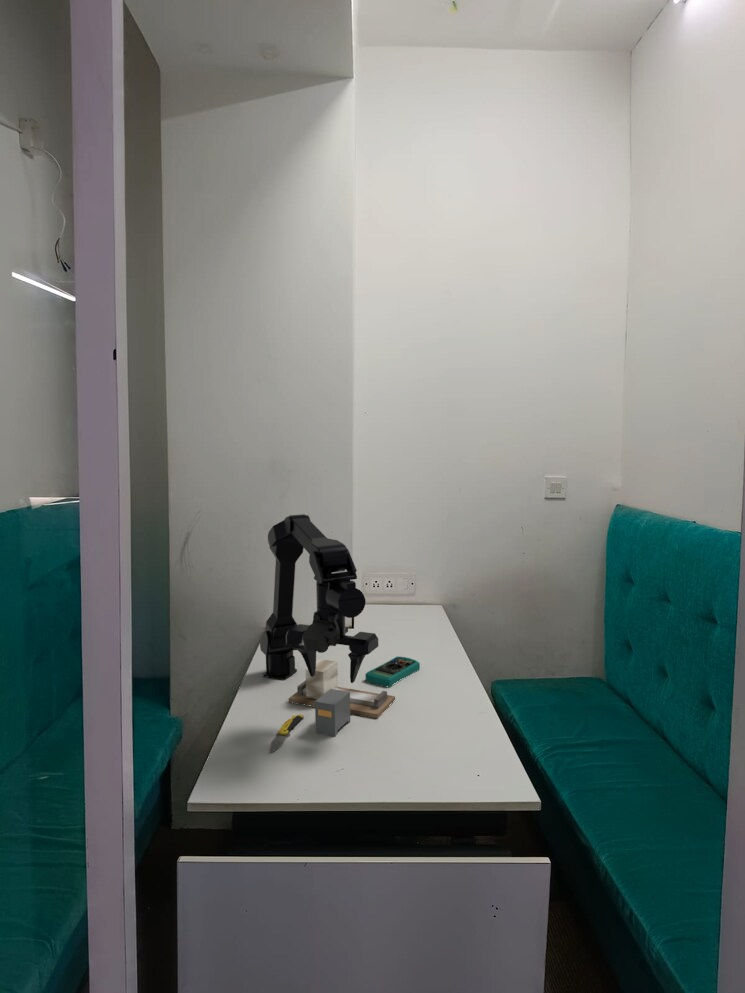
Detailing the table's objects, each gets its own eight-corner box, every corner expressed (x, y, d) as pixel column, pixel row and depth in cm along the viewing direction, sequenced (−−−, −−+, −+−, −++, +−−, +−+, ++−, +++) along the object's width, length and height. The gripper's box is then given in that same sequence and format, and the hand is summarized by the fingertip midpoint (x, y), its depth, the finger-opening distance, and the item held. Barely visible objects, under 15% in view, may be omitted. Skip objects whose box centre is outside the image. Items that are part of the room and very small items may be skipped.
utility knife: (279, 751, 124) (264, 749, 125) (279, 757, 124) (264, 755, 125) (303, 714, 140) (290, 713, 141) (304, 719, 140) (290, 718, 141)
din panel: (288, 702, 148) (287, 669, 147) (310, 686, 157) (309, 654, 156) (377, 718, 139) (377, 683, 138) (395, 700, 148) (394, 667, 147)
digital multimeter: (421, 670, 167) (421, 659, 167) (389, 689, 155) (388, 677, 155) (397, 665, 171) (397, 654, 171) (364, 683, 159) (364, 671, 159)
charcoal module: (315, 732, 133) (314, 701, 132) (331, 718, 139) (330, 688, 139) (334, 736, 131) (334, 705, 130) (350, 721, 138) (349, 691, 137)
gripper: (270, 611, 129) (272, 687, 131) (355, 621, 122) (356, 701, 123) (298, 597, 139) (300, 668, 141) (378, 605, 132) (379, 680, 133)
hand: (332, 679), depth 134 cm, fingers open, 9 cm apart
